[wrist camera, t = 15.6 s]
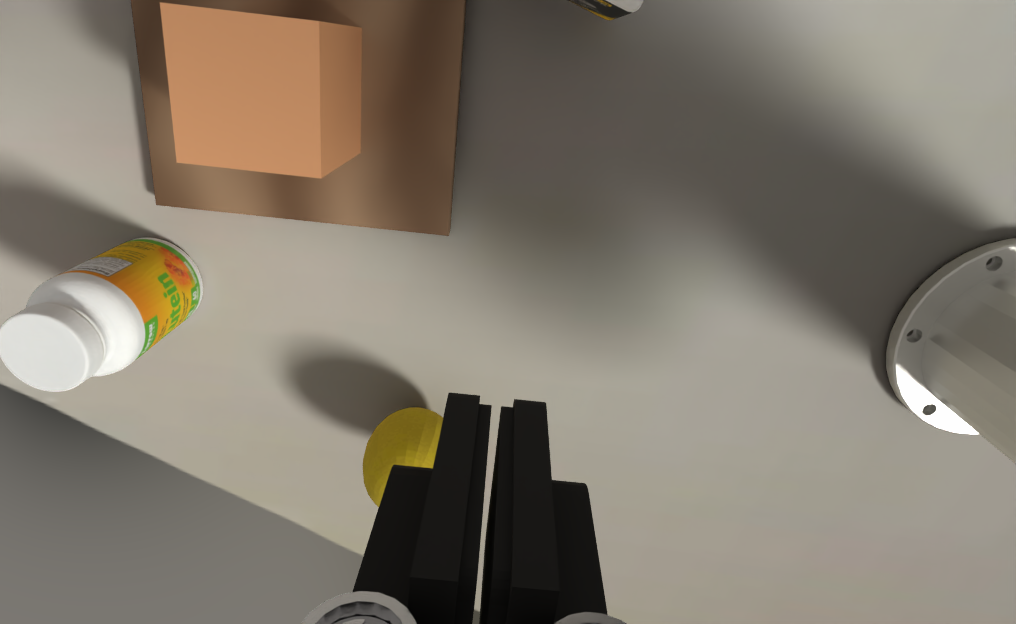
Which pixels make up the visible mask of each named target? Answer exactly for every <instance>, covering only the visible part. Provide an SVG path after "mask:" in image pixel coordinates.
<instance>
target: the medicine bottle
mask: <svg viewBox="0 0 1016 624" xmlns="http://www.w3.org/2000/svg"><path fill="white" fill-rule="evenodd" d="M568 1H570V2H572V3H574V4H576V5H578V6H580V7H582V8H584V9H586V10H588V11H590V12H592V13H594V14H596V15H598V16H600V17H602V18H604V19H606V20H612V19H615V18H618V17H621V16H624V15H627V14H630V13H633V12H635V11H638V9H639V8H640V7H641V5H642V3H643V1H644V0H568Z"/></svg>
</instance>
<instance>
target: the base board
mask: <svg viewBox="0 0 1016 624" xmlns="http://www.w3.org/2000/svg"><path fill="white" fill-rule="evenodd" d="M160 2H162V3H170V4H179V5H187V6H195V7H204V8H212V9H221V10H229V11H238V12H246V13H254V14H263V15H271V16H280V17H288V18H297V19H305V20H313V21H321V22H328V23H334V24H341V25H347V26H353V27H360V28H362V72H361V153H360V154H358V155H357V156H355V157H354V158H352V159H351V160H349V161H347V162H346V163H344V164H343V165H341V166H340V167H338V168H337V169H335V170H334V171H332V172H331V173H329V174H327V175H326V176H324V177H323V178H321V179H320V178H311V177H302V176H293V175H284V174H275V173H266V172H257V171H248V170H239V169H230V168H221V167H212V166H203V165H194V164H185V163H177V161H176V152H175V142H174V133H173V123H172V114H171V104H170V95H169V85H168V76H167V66H166V57H165V47H164V38H163V28H162V19H161V9H160ZM131 7H132V15H133V23H134V31H135V39H136V47H137V55H138V63H139V71H140V79H141V87H142V95H143V103H144V111H145V119H146V127H147V135H148V143H149V151H150V159H151V167H152V175H153V183H154V191H155V199H156V205H162V206H171V207H181V208H190V209H200V210H209V211H219V212H228V213H238V214H247V215H256V216H266V217H275V218H285V219H294V220H304V221H313V222H323V223H332V224H342V225H351V226H360V227H370V228H379V229H389V230H398V231H408V232H417V233H427V234H436V235H446V236H449V233H450V227H451V213H452V199H453V184H454V170H455V156H456V142H457V127H458V113H459V99H460V85H461V71H462V56H463V42H464V28H465V14H466V0H131Z"/></svg>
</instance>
